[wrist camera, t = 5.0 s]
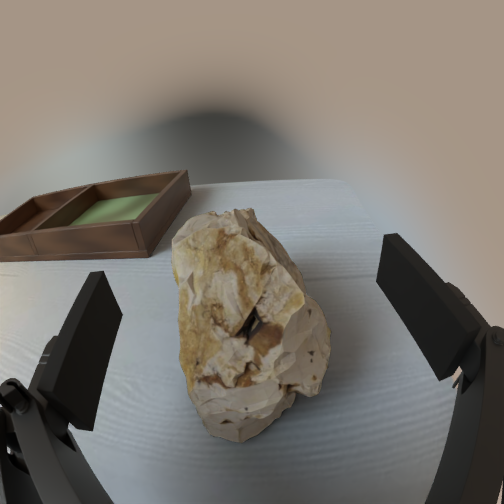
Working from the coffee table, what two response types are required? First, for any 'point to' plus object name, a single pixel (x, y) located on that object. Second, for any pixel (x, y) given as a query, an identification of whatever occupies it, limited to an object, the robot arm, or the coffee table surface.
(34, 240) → the divided wooden tray
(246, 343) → the rock
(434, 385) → the coffee table surface
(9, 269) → the coffee table surface
